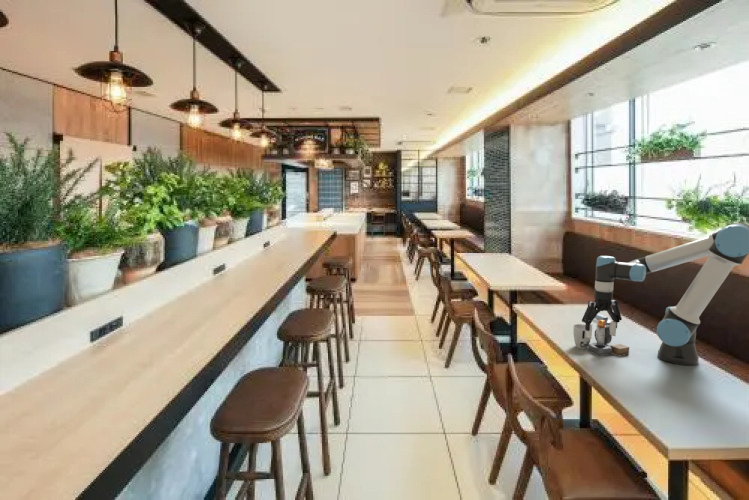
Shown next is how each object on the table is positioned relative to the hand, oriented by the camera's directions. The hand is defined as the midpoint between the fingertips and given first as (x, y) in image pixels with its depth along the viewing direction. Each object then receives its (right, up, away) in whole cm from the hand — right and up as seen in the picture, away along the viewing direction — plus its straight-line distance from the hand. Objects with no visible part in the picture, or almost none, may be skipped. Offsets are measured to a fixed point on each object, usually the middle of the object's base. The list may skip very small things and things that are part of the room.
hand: (600, 336), depth 215 cm
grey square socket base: (0, -7, +1) cm, 8 cm away
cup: (-5, -7, +8) cm, 12 cm away
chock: (+9, -8, 0) cm, 12 cm away
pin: (0, -7, +1) cm, 8 cm away
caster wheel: (+7, -6, +13) cm, 16 cm away
